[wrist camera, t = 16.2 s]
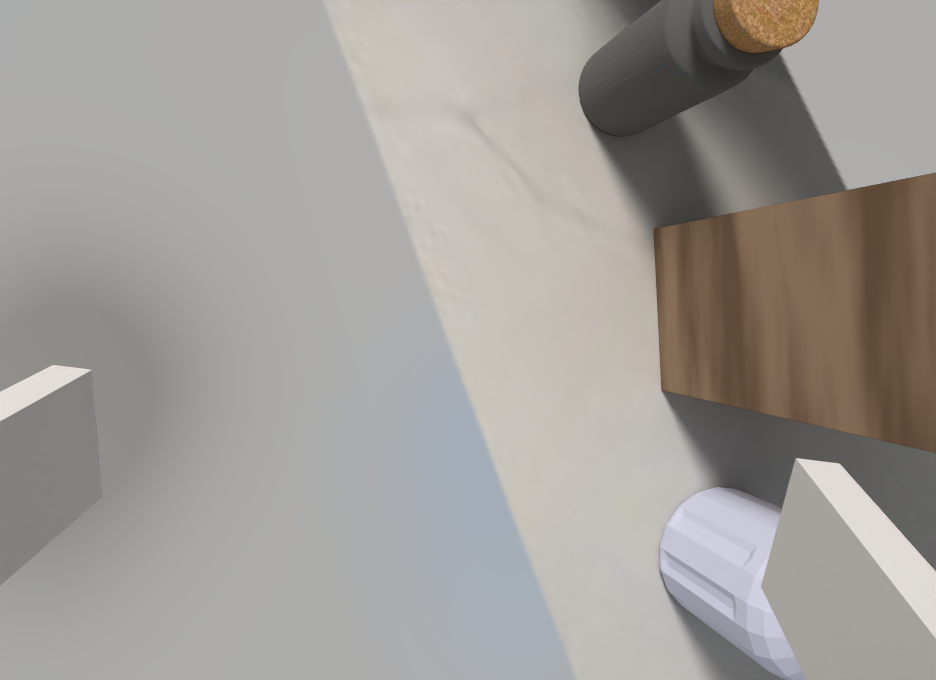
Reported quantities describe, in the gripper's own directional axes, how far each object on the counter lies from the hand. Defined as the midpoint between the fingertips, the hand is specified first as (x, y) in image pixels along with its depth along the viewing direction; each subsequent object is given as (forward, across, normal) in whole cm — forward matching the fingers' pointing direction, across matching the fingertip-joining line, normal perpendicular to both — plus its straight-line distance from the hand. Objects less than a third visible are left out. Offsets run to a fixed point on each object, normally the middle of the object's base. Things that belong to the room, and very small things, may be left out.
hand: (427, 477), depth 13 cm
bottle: (+38, +6, +9) cm, 39 cm away
